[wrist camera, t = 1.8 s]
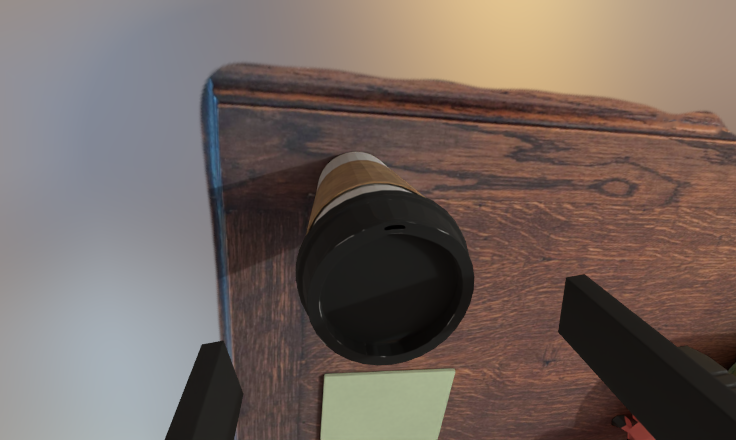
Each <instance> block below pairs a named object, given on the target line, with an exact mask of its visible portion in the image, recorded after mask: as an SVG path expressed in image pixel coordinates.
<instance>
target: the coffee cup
mask: <svg viewBox="0 0 736 440" xmlns="http://www.w3.org/2000/svg"><path fill="white" fill-rule="evenodd" d="M296 283H297V288H298V292H299V296H300V300H301V303H302V305H303V307H304V309H305V311H306V313H307V314H308V316H309V319H310V322H311V324H312V326H313V328H314V330H315V332H316V334H317V335H318V336H319V338H320V339H321V340H322V341H323V342H324V344H325V345H326V346H328V347H329V348H330V349H331V350H333V351H334V352H335V353H337V354H338V355H340V356H342V357H344V358H347V359H349V360H351V361H355V362H359V363H362V364H370V365H393V364H397V363H402V362H406V361H409V360H412V359H414V358H417V357H420V356H422V355H424V354H425V353H427V352H429V351H431V350H433V349H434V348H436V347H437V346H438V345H439V344H441V343H442V342H443V341H445V340H446V339H447V338H448V337H449V336H450V335H451V333H452V332H453V331H454V330H455V329H456V328H457V326H458V325H459V323H460V322H461V320H462V319H463V317H464V316H465V313H466V311H467V309H468V307H469V305H470V302H471V298H472V294H473V290H474V272H473V265H472V262H471V260H470V257H469V254H468V249H467V245H466V241H465V239H464V237H463V235H462V233H461V231H460V229H459V227H458V225H457V223H456V222H455V220H454V219H453V218H452V217H451V216H450V215H449V213H448V212H447V211H446V210H445V209H443V208H442V207H441V206H439V205H438V204H437V203H435V202H434V201H432V200H430V199H428V198H425V197H424V196H423V195H422V194H420V193H419V192H418V191H417V190H415V189H414V188H413V187H412V186H410V185H409V184H408V183H407V182H406V181H404V180H403V179H402V178H401V177H399V176H398V175H397V174H396V173H394V172H393V171H392V170H390V169H389V168H388V167H387V166H386V165H385V164H384V163H382V162H381V161H380V160H379V159H377V158H376V157H374V156H372V155H370V154H367V153H363V152H349V153H345V154H342V155H339V156H338V157H336V158H334V159H333V160H332V161H330V162H329V163H328V164H327V165H326V167H325V168H324V170H323V171H322V173H321V176H320V178H319V182H318V187H317V192H316V196H315V200H314V204H313V208H312V212H311V216H310V220H309V224H308V228H307V233H306V236H305V239H304V241H303V243H302V245H301V247H300V249H299V253H298V257H297V262H296Z"/></svg>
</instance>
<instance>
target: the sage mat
mask: <svg viewBox="0 0 736 440" xmlns="http://www.w3.org/2000/svg"><path fill="white" fill-rule="evenodd" d="M454 374H455V369H454V368H450V369H426V370H403V371H379V372H356V373H333V374H324V387H323V402H322V418H321V433H320V440H437V439H438V435H439V431H440V428H441V424H442V420H443V416H444V412H445V409H446V405H447V401H448V397H449V393H450V390H451V386H452V382H453V378H454Z"/></svg>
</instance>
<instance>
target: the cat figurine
mask: <svg viewBox="0 0 736 440" xmlns="http://www.w3.org/2000/svg"><path fill="white" fill-rule="evenodd" d="M633 419H635V420H636V421H637V422H638V423H637V424H636V425H634V426H633V427H632V424H631V422H630V419H628V418H627V417H626V416H625V415H621V416H616V417H615V418H614V419H613V420H612V425H614V426H616V427H619V428H621V429H623V430H625V431H626V432H628V439H627V440H655V438H654V437H653V436H652V435H651V434H650V433H649V432H648V431H647V430H646V428H645V427H644V426H643V425H642V424H641V423H640V422H639V421H638V420H637V419H636V417H635V416H634V415H633Z"/></svg>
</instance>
